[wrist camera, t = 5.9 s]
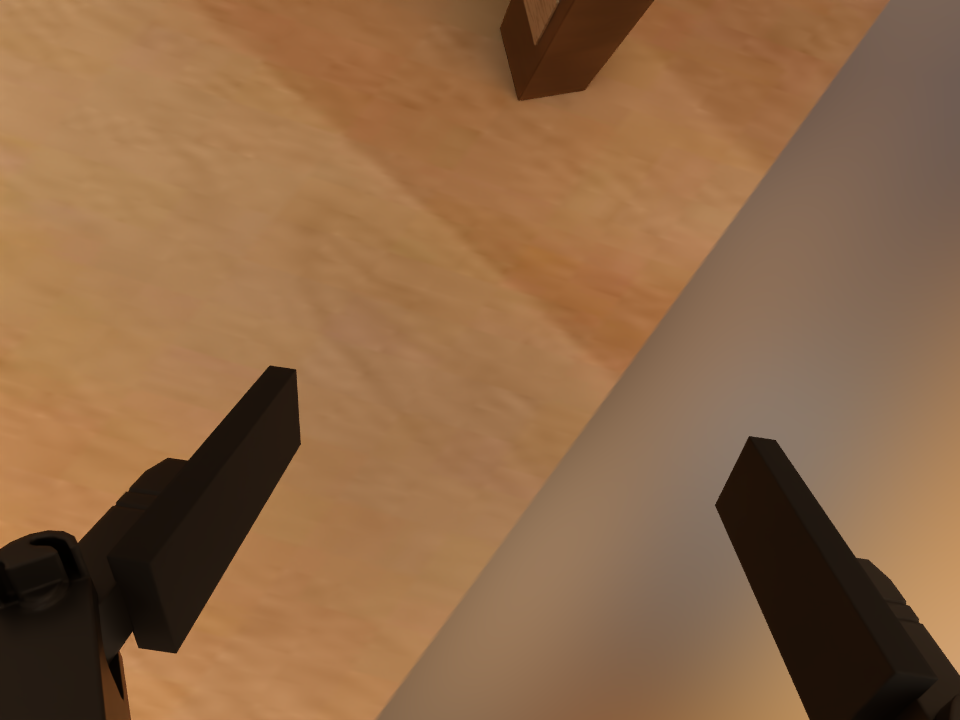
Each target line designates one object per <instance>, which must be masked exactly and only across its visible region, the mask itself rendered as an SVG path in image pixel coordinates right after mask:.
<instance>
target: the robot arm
mask: <svg viewBox="0 0 960 720" xmlns="http://www.w3.org/2000/svg"><path fill="white" fill-rule="evenodd" d="M300 445H301V441H300V424H299V408H298V392H297V375H296V369H290V368H283V367H276V366H269V367H268V368H267V369H266V370H265V372H264V373H263V374H262V375H261V376H260V377H259V379H258V380H257V381H256V382H255V383H254V384H253V386H252V387H251V388H250V389H249V390H248V391H247V393H246V394H245V395H244V396H243V397H242V398H241V400H240V401H239V402H238V403H237V404H236V405H235V407H234V408H233V409H232V410H231V411H230V412H229V414H228V415H227V416H226V417H225V418H224V419H223V421H222V422H221V423H220V424H219V425H218V426H217V428H216V429H215V430H214V431H213V432H212V433H211V435H210V436H209V437H208V438H207V439H206V440H205V442H204V443H203V444H202V445H201V446H200V447H199V449H198V450H197V451H196V452H195V453H194V454H193V456H192V457H191V458H190V459H189V460H188V461H187V460H180V459H173V458H167V459H165V460H163V461H162V462H160V463H158V464H157V465H155V466H153V467H152V468H150V469H148V470H147V471H145V472H144V473H143V474H142V475H141V476H140V478H139V479H138V480H137V481H136V482H135V483H134V484H133V485H132V486H131V487H130V488H129V491H128V492H125V493H124V495H123V496H122V497H121V498H120V499H119V500H118V501H117V502H116V505H115V506H112V507H111V508H110V509H109V510H108V512H107V513H106V514H105V515H104V516H103V517H102V518H101V519H100V520H99V521H98V522H97V523H96V524H95V525H94V526H93V527H92V529H91V530H90V531H89V532H88V533H87V534H86V535H85V536H84V537H83V538H82V539H81V540H80V541H79V542H78V543H77V541H76V539H75V537H74V536H72V535H70V534H68V533H66V532H64V531H50V530H48V531H43V532H38V533H33V534H29V535H27V536H24V537H22V538H19V539H17V540H15V541H12V542H10V543H9V544H7V545H6V546H4V547H3V548H1V549H0V720H131V717H130V710H129V702H128V695H127V688H126V681H125V674H124V667H123V660H122V656H121V653H120V651H119V650H120V649H121V647H122V646H123V644H124V643H125V641H126V640H127V639H128V637H129V636H130V634H131V633H132V631H133V633H134V636H135V639H136V642H137V645H138V648H142V649H149V650H156V651H163V652H169V653H177V652H178V650H179V648H180V646H181V645H182V643H183V641H184V640H185V638H186V636H187V635H188V633H189V631H190V630H191V628H192V626H193V625H194V623H195V621H196V620H197V618H198V616H199V615H200V613H201V611H202V609H203V608H204V606H205V604H206V603H207V601H208V599H209V598H210V596H211V594H212V593H213V591H214V589H215V588H216V586H217V584H218V583H219V581H220V579H221V577H222V576H223V574H224V572H225V571H226V569H227V567H228V566H229V564H230V562H231V561H232V559H233V557H234V556H235V554H236V552H237V551H238V549H239V547H240V546H241V544H242V542H243V540H244V539H245V537H246V535H247V534H248V532H249V530H250V529H251V527H252V525H253V524H254V522H255V520H256V519H257V517H258V515H259V514H260V512H261V510H262V508H263V507H264V505H265V503H266V502H267V500H268V498H269V497H270V495H271V493H272V492H273V490H274V488H275V487H276V485H277V483H278V482H279V480H280V478H281V477H282V475H283V473H284V471H285V470H286V468H287V466H288V465H289V463H290V461H291V460H292V458H293V456H294V455H295V453H296V451H297V450H298V448H299V446H300ZM715 506H716V508H717V511H718V513H719V515H720V517H721V520H722V522H723V524H724V527H725V529H726V531H727V533H728V536H729V538H730V540H731V542H732V545H733V547H734V549H735V552H736V554H737V556H738V558H739V560H740V563H741V565H742V567H743V569H744V572H745V574H746V576H747V579H748V581H749V583H750V585H751V588H752V590H753V592H754V595H755V597H756V599H757V601H758V604H759V606H760V608H761V610H762V613H763V614H764V617H765V619H766V622H767V624H768V626H769V629H770V631H771V633H772V635H773V638H774V640H775V642H776V644H777V647H778V649H779V651H780V653H781V656H782V658H783V660H784V662H785V665H786V667H787V669H788V672H789V674H790V676H791V678H792V680H793V683H794V685H795V687H796V690H797V691H798V694H799V696H800V699H801V701H802V703H803V706H804V708H805V710H806V712H807V715H808V717H809V719H810V720H960V675H959V674H958V673H957V671H956V670H955V668H954V667H953V666H952V664H951V663H950V662H949V660H948V659H947V657H946V656H945V654H944V653H943V652H942V650H941V649H940V648H939V646H938V645H937V643H936V642H935V641H934V639H933V638H932V636H931V635H930V634H929V632H928V631H927V630H926V628H925V627H924V625H923V624H920V623H919V619H918V617H917V616H916V614H915V613H914V612H913V610H912V609H911V607H910V606H908V605H906V600H905V599H904V598H903V596H902V595H901V594H900V592H899V591H898V589H897V588H896V587H895V585H894V584H893V583H892V581H891V580H890V579H889V578H888V577H887V576H886V575H885V574H883V572H881V571H880V570H879V569H878V568H877V567H876V566H875V565H873V564H872V563H871V562H870V561H869V560H867V559H860V558H856V557H855V556H854V554H853V553H852V551H851V550H850V548H849V547H848V545H847V544H846V542H845V541H844V540H843V538H842V537H841V535H840V534H839V532H838V531H837V529H836V528H835V526H834V525H833V524H832V522H831V520H830V519H829V518H828V516H827V515H826V514H825V512H824V510H823V509H822V507H821V506H820V505H819V503H818V501H817V500H816V499H815V497H814V496H813V494H812V493H811V491H810V490H809V488H808V487H807V485H806V484H805V482H804V481H803V480H802V478H801V477H800V475H799V474H798V472H797V471H796V469H795V468H794V466H793V465H792V464H791V462H790V460H789V459H788V458H787V456H786V455H785V453H784V452H783V450H782V449H781V448H780V446H779V444H778V443H777V442H776V440H771V439H764V438H758V437H751V436H749V437H748V439H747V442H746V444H745V446H744V448H743V450H742V452H741V454H740V456H739V458H738V460H737V462H736V464H735V466H734V468H733V470H732V472H731V474H730V476H729V478H728V480H727V482H726V484H725V486H724V488H723V490H722V492H721V494H720V496H719V498H718V500H717V502H716V504H715Z"/></svg>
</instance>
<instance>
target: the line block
mask: <svg viewBox="0 0 960 720" xmlns="http://www.w3.org/2000/svg"><path fill="white" fill-rule="evenodd" d="M653 1H654V0H511V1H510V4H509V6H508V9H507V11H506V14H505V17H504V19H503V22H502V24H501V27H500V29H501V33H502V37H503V41H504V45H505V49H506V53H507V57H508V61H509V65H510V69H511V73H512V77H513V81H514V85H515V89H516V93H517V97H518V100H519V101H520V100H526V99H532V98H538V97H545V96H551V95H557V94H563V93H570V92H576V91H582V90H585V89H586V88H587V86H588V85H589V84H590V82H591V81H592V80H593V79H594V77H595V76H596V75H597V73H598V72H599V71H600V70H601V68H602V67H603V66H604V64H605V63H606V62H607V61H608V59H609V58H610V57H611V55H612V54H613V53H614V51H615V50H616V49H617V48H618V46H619V45H620V44H621V42H622V41H623V40H624V39H625V37H626V36H627V35H628V33H629V32H630V31H631V30H632V28H633V27H634V26H635V24H636V23H637V22H638V20H639V19H640V18H641V17H642V15H643V14H644V13H645V11H646V10H647V9H648V8H649V6H650V5H651V4H652V2H653Z"/></svg>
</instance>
